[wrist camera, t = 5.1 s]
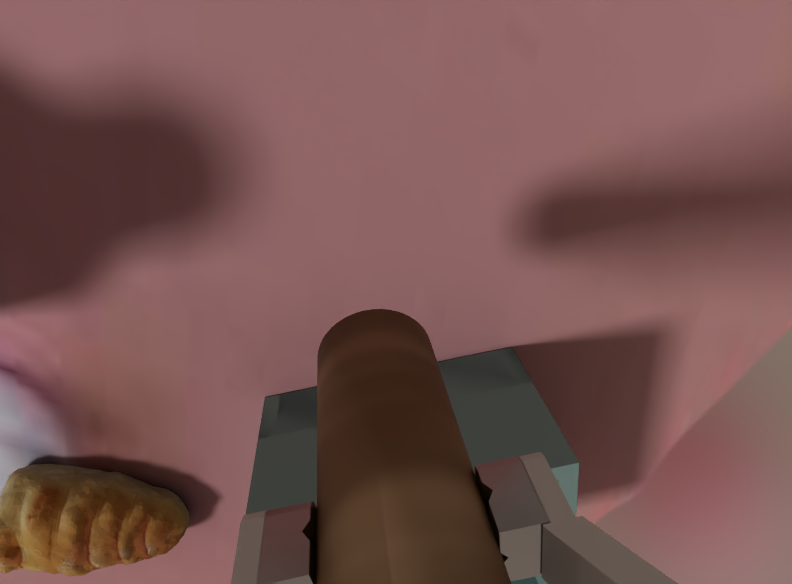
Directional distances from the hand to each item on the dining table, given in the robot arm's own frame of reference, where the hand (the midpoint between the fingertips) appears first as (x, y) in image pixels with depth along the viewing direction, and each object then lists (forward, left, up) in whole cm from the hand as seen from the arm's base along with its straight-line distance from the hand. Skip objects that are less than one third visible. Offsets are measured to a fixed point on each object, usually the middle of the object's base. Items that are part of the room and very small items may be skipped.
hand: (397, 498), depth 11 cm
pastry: (+12, -18, -14) cm, 26 cm away
